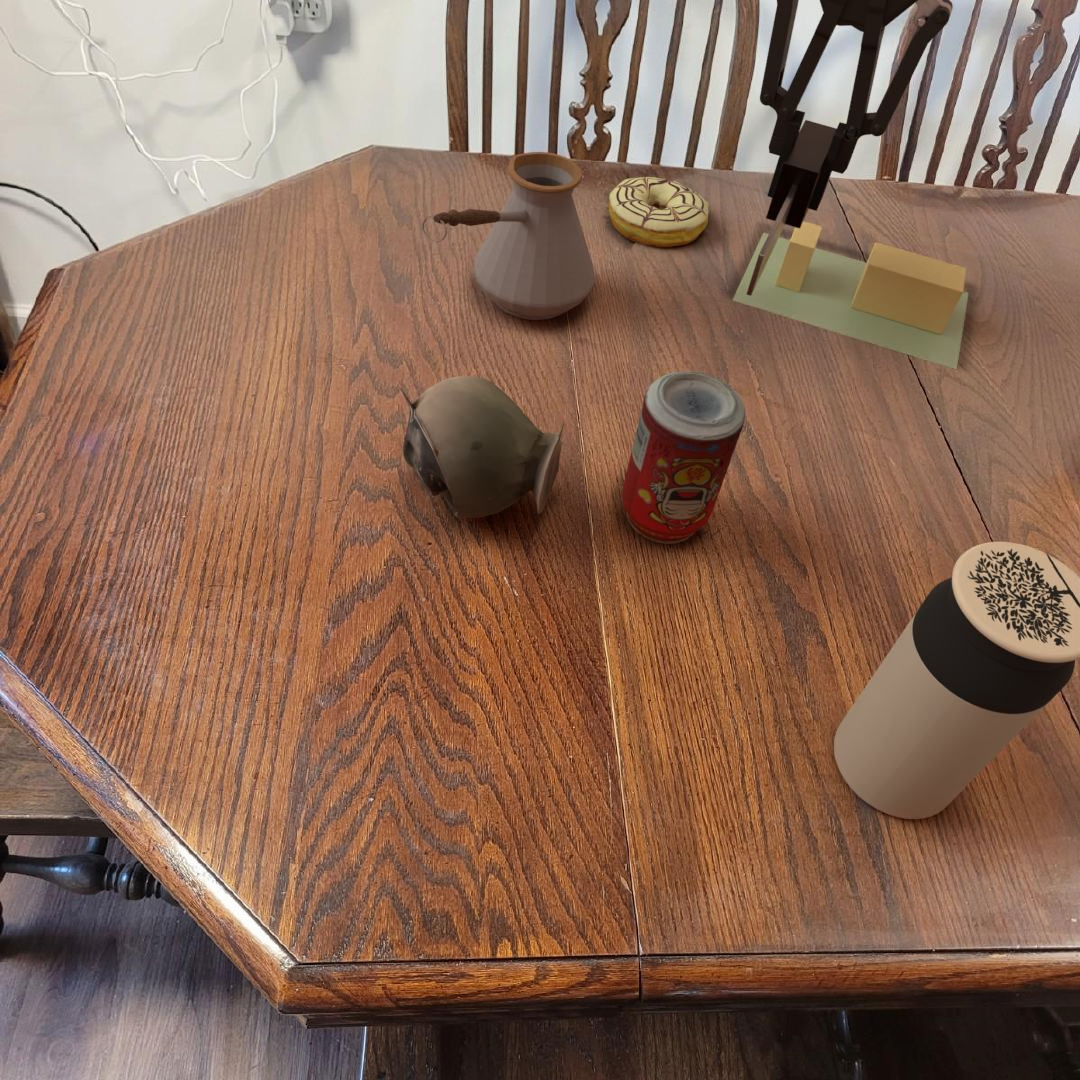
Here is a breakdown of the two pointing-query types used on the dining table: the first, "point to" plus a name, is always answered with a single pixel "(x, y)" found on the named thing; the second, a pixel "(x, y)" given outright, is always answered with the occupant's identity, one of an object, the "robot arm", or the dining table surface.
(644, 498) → the soda can
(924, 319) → the butter block
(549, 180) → the coffee pot
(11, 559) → the dining table surface
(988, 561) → the travel mug
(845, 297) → the butter board
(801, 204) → the knife
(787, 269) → the butter slice
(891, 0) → the robot arm
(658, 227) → the decorated donut
